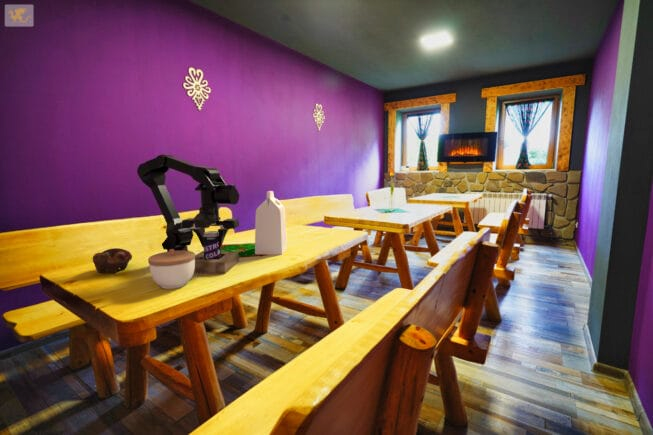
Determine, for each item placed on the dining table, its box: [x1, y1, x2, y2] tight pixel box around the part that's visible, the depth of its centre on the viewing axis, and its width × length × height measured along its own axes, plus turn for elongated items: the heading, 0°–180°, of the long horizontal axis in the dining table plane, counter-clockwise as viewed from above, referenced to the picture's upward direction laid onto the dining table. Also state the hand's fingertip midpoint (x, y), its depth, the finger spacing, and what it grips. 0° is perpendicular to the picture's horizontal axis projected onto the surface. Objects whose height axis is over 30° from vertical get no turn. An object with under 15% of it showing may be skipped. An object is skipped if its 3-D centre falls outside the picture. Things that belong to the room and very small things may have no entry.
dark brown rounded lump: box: [92, 247, 133, 274], centre depth 104 cm, size 10×15×8 cm, turn 0°
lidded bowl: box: [147, 249, 196, 290], centre depth 91 cm, size 13×13×11 cm
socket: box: [194, 250, 240, 275], centre depth 108 cm, size 14×14×4 cm
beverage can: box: [202, 230, 222, 260], centre depth 108 cm, size 6×6×12 cm
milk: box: [254, 190, 288, 256], centre depth 130 cm, size 12×12×26 cm
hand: (212, 247), depth 108 cm, fingers closed on beverage can, 6 cm apart
